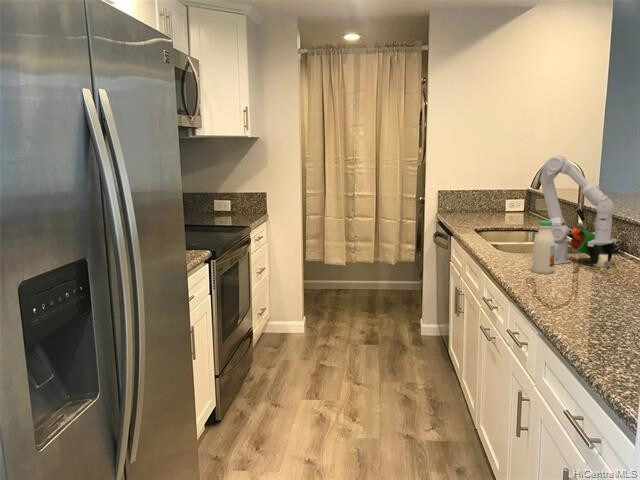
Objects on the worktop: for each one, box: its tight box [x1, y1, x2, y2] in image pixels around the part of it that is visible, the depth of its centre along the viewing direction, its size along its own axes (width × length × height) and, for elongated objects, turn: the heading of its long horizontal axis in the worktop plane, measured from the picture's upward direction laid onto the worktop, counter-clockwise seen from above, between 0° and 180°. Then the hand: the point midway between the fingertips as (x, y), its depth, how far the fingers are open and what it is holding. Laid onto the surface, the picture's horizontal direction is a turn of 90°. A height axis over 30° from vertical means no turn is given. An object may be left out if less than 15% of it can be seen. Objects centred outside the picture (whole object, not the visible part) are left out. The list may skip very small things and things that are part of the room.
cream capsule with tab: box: [592, 253, 613, 269], centre depth 216 cm, size 5×7×5 cm
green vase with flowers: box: [567, 227, 604, 257], centre depth 223 cm, size 10×9×20 cm
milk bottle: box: [531, 219, 555, 275], centre depth 207 cm, size 8×8×20 cm
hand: (600, 262), depth 217 cm, fingers open, 7 cm apart
